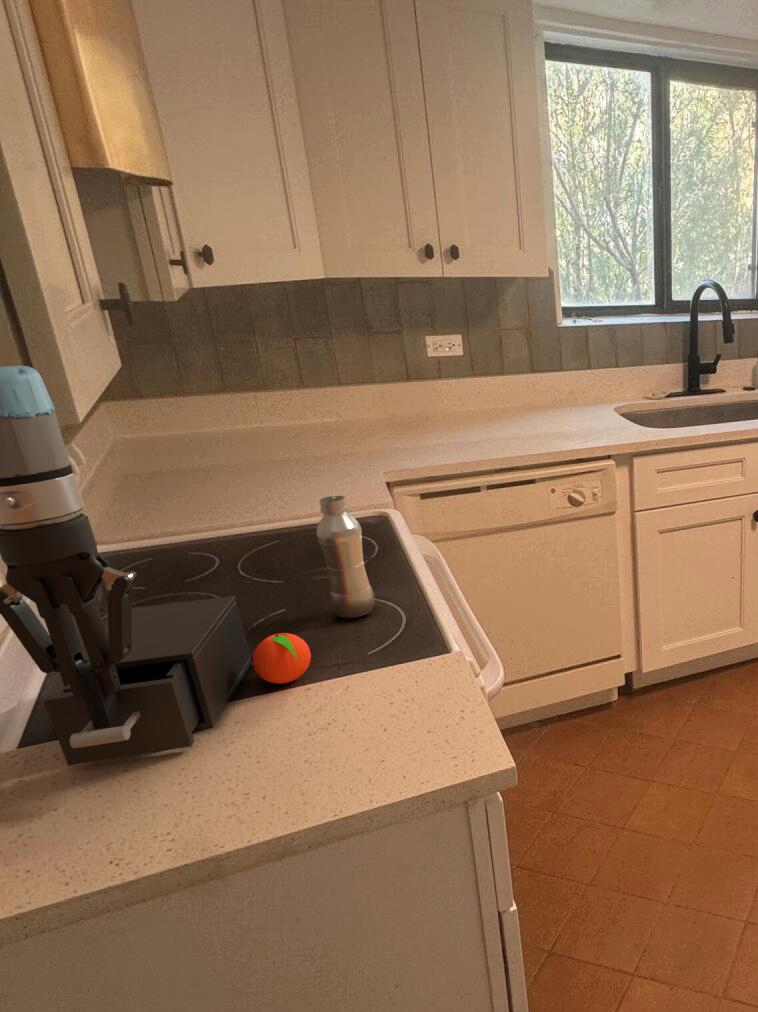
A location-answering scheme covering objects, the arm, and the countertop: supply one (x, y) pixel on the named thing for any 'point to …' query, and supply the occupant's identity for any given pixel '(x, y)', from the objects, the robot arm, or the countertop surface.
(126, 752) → the open grey drawer
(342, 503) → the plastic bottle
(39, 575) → the robot arm
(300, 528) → the countertop surface
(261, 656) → the clementine
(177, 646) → the dark drawer cabinet
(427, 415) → the countertop surface
